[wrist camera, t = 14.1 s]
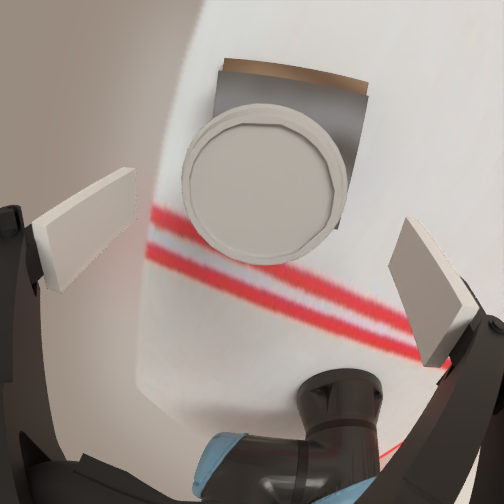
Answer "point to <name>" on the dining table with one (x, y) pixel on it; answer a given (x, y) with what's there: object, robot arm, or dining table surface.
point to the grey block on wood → (299, 98)
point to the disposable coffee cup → (263, 184)
